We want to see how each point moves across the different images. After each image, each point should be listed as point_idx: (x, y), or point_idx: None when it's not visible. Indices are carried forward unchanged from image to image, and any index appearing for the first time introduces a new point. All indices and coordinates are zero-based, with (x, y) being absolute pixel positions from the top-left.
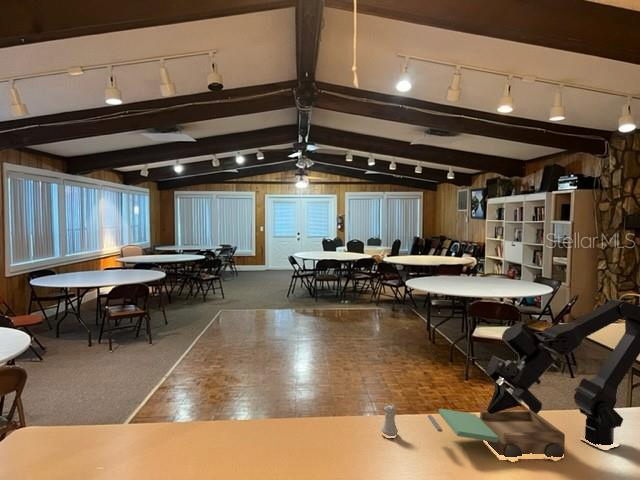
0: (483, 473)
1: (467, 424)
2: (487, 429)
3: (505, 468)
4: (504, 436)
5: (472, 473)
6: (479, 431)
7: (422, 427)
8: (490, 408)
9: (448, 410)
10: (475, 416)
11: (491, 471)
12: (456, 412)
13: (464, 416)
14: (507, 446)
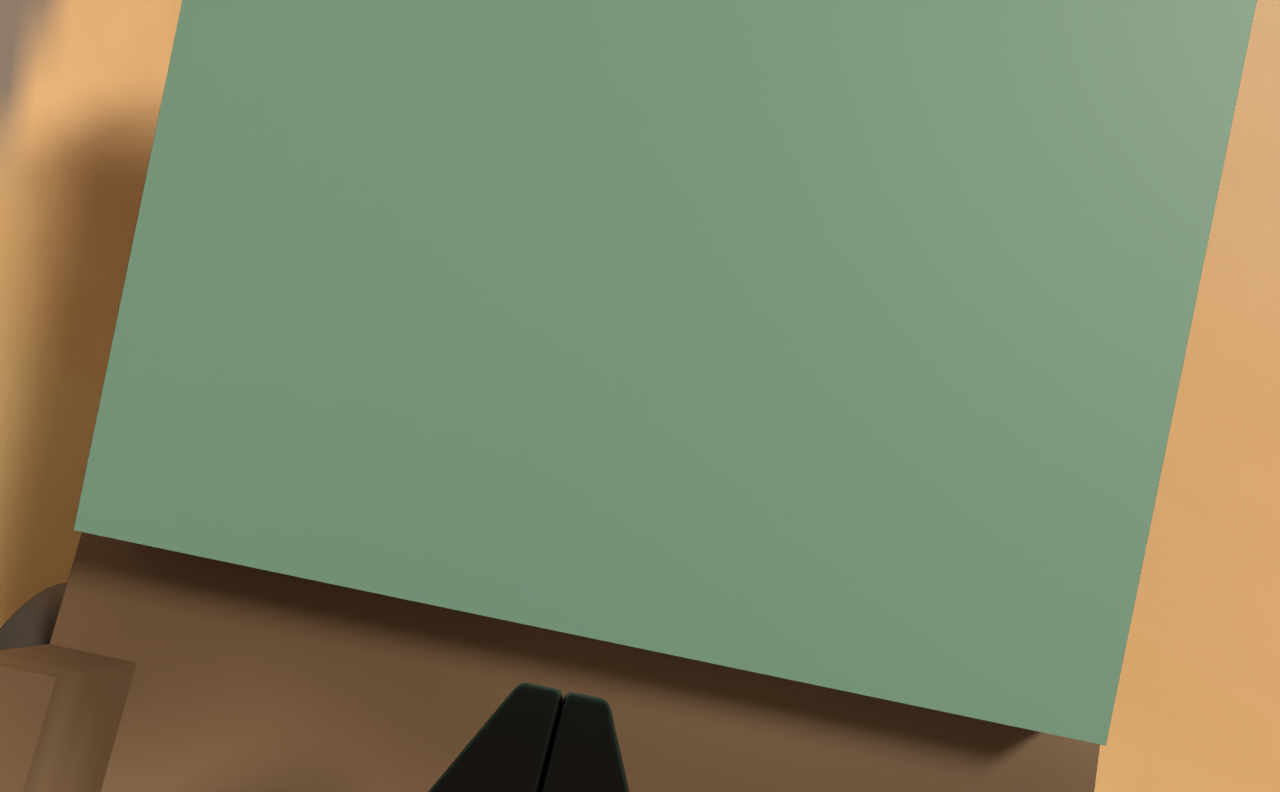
0: (22, 149)
1: (552, 166)
2: (384, 514)
3: (19, 486)
4: (57, 664)
5: (66, 29)
6: (273, 246)
7: (1272, 47)
8: (473, 749)
9: (1195, 127)
10: (983, 664)
11: (24, 268)
12: (1120, 279)
13: (938, 357)
14: (37, 644)
